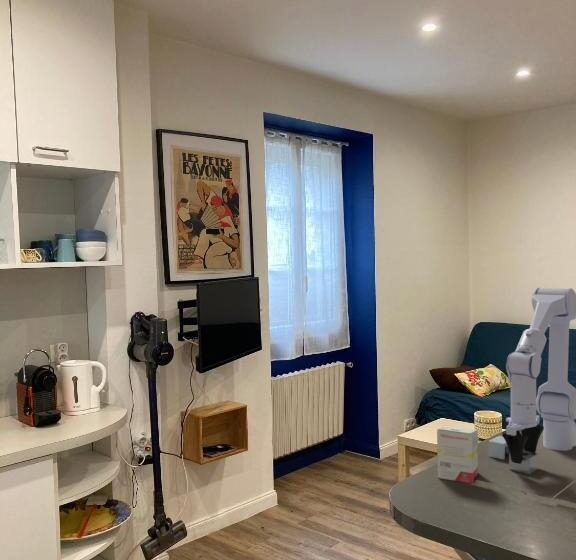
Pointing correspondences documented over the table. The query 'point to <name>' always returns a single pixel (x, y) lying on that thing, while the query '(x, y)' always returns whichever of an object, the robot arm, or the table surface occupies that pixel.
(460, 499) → the table surface
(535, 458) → the block
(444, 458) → the ink box
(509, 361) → the robot arm
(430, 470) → the table surface
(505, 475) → the table surface
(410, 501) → the table surface
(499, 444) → the block
